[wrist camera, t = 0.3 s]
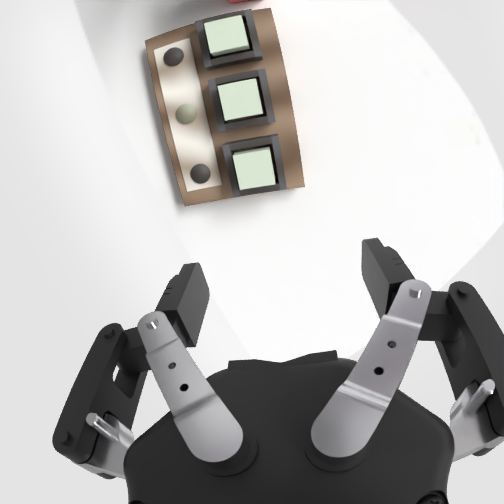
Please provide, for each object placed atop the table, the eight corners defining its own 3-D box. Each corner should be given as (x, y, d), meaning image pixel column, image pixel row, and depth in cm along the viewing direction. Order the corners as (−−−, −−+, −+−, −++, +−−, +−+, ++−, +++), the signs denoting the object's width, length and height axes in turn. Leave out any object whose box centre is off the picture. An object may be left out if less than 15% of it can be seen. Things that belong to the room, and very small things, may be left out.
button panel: (152, 44, 26) (136, 37, 22) (270, 14, 24) (270, 0, 19) (189, 200, 38) (179, 213, 33) (302, 181, 35) (307, 192, 31)
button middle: (220, 87, 26) (217, 86, 24) (256, 80, 25) (255, 78, 23) (227, 119, 28) (225, 120, 26) (263, 113, 27) (262, 113, 25)
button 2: (234, 152, 30) (232, 155, 28) (269, 146, 29) (269, 149, 27) (241, 184, 32) (239, 189, 30) (275, 179, 31) (275, 184, 29)
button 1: (207, 28, 22) (203, 23, 20) (242, 20, 21) (241, 14, 20) (214, 56, 24) (210, 53, 22) (249, 49, 23) (248, 45, 22)
